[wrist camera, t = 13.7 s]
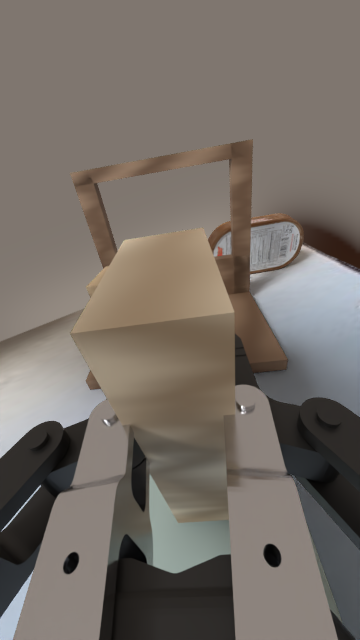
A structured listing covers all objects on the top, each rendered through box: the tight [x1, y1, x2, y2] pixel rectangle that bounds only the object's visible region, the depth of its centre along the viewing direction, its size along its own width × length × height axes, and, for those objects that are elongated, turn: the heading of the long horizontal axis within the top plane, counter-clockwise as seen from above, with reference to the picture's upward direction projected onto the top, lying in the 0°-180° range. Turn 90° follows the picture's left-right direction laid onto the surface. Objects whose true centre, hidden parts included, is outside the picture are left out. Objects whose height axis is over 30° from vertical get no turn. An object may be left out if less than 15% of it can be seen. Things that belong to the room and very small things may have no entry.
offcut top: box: [86, 266, 109, 298], centre depth 23 cm, size 4×5×2 cm
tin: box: [208, 214, 304, 274], centre depth 36 cm, size 15×3×8 cm, turn 95°
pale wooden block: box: [70, 228, 235, 523], centre depth 10 cm, size 3×6×13 cm, turn 1°
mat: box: [149, 473, 343, 624], centre depth 13 cm, size 10×10×1 cm
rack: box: [70, 140, 288, 390], centre depth 22 cm, size 18×14×17 cm
